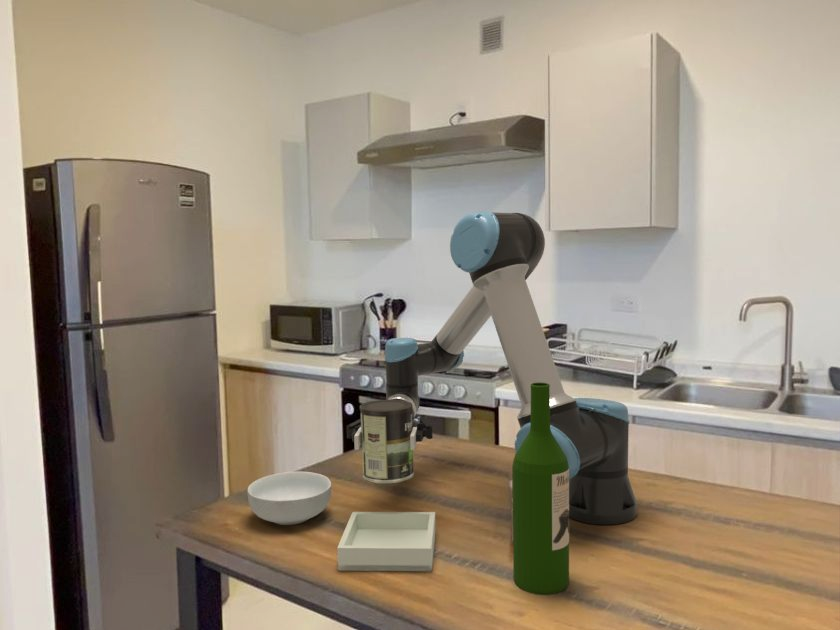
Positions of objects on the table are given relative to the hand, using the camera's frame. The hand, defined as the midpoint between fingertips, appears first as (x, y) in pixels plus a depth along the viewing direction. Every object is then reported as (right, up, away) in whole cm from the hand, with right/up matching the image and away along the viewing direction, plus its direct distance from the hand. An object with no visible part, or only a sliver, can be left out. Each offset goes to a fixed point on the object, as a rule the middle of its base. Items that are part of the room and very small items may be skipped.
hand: (384, 442), depth 129 cm
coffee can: (0, -7, +5) cm, 9 cm away
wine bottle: (+27, -19, -18) cm, 37 cm away
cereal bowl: (-20, -18, +11) cm, 29 cm away
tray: (+1, -18, -5) cm, 19 cm away
